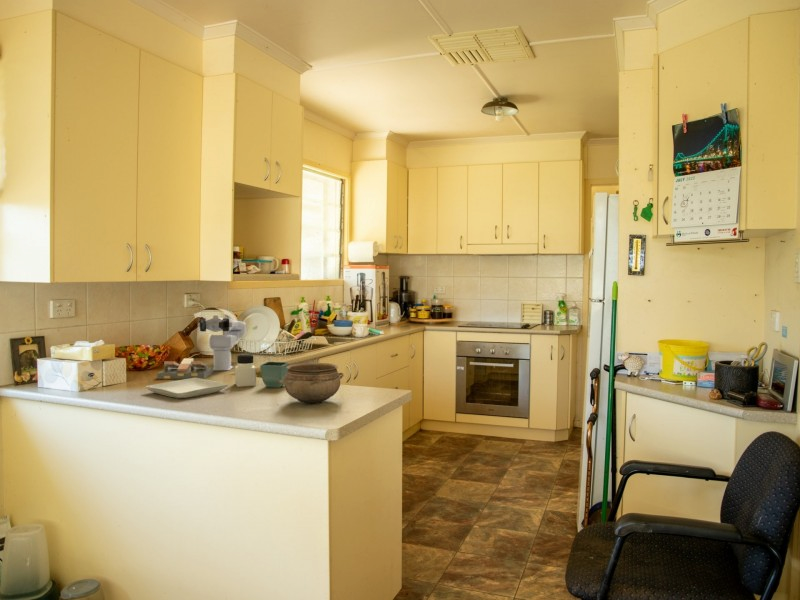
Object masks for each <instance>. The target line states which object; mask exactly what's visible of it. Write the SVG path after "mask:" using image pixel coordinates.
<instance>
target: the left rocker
mask: <svg viewBox="0 0 800 600" xmlns="http://www.w3.org/2000/svg"><path fill="white" fill-rule="evenodd" d="M163 362H164V363H163V364H164V365H166V366H168V368H177V365H180V364H181V363H178V362H176V361H173V360H172V361H171V360H169V361H168V360H167V361H166V360H165V361H163Z"/></svg>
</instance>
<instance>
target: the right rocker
mask: <svg viewBox="0 0 800 600" xmlns="http://www.w3.org/2000/svg"><path fill="white" fill-rule="evenodd" d="M191 364H192V365H193V366H194V368H204V365H207V364H206V363H204V362H203V361H202V360H198V361H197V360H196V361H195V360H194V361H191Z"/></svg>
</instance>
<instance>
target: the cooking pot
mask: <svg viewBox="0 0 800 600" xmlns="http://www.w3.org/2000/svg"><path fill="white" fill-rule="evenodd" d="M286 368H287V369H288V371H287V374H286V376H285V380H284V381H282V380H280V381H279V383H281V384H284V385H283V387H284V389H285V391H286V393H287V394H288V396H290V397H292V398H294V399H295V400H297V401H298V402H300V403H302V404H303V405H320V404H322V403H323V402H325V401H326V400H329V399H330V398H331V397H333V396H334V395H336V394H337V392H338V391H339V389H340V388H341V379H342V378H343V377H344V373H343V372H338V368H339V365H337V364H335V363H329V362H328V363H327V362H301V363H295V364H294V363H293V364H289V366H287V367H286Z"/></svg>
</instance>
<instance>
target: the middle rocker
mask: <svg viewBox="0 0 800 600" xmlns="http://www.w3.org/2000/svg"><path fill="white" fill-rule="evenodd" d="M191 361H195V360H194V358H193V357H191V358H189V357H188V358H186V357H185V358H183V359H182V361H181V362H180V363H179V364H180V365H179V367H178V369H177V372H187V371H188V370H189V368H191V365H192V364H191Z"/></svg>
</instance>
